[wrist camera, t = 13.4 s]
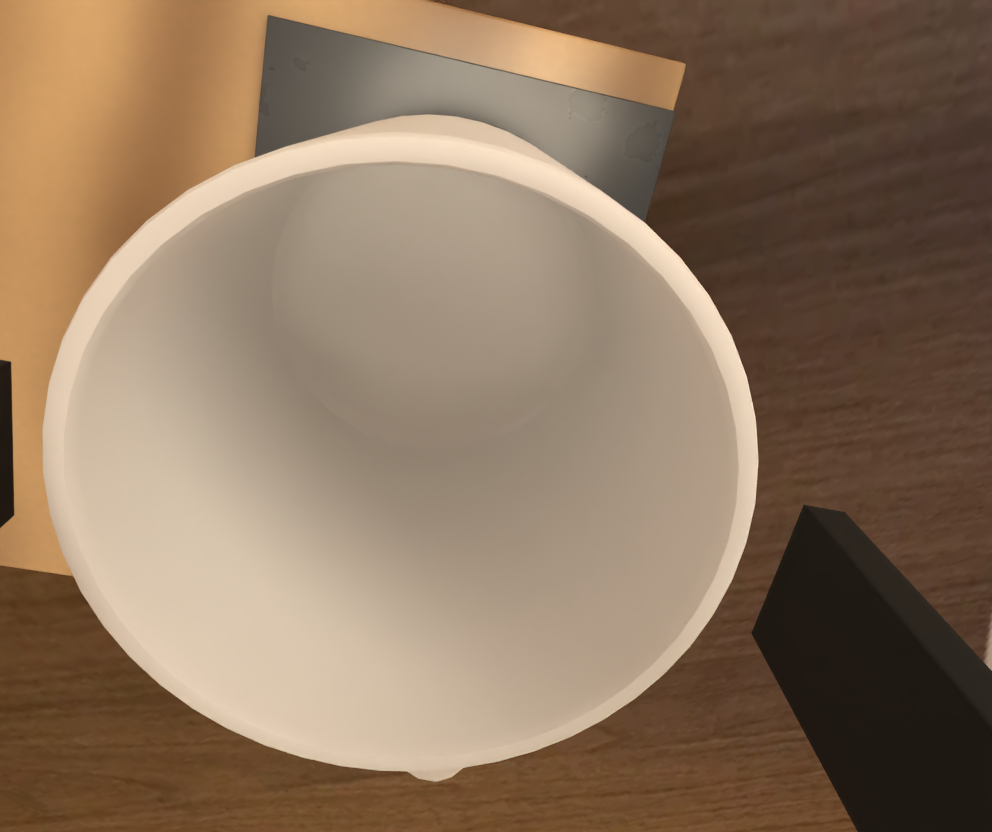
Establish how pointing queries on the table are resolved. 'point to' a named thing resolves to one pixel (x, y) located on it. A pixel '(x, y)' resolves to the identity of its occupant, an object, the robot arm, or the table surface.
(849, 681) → the robot arm
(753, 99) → the table surface
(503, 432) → the mug
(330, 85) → the shelf
